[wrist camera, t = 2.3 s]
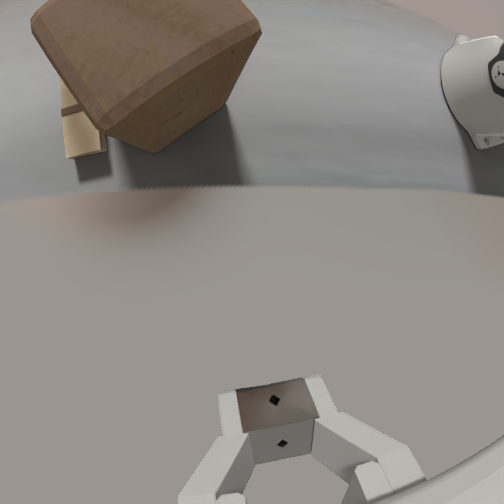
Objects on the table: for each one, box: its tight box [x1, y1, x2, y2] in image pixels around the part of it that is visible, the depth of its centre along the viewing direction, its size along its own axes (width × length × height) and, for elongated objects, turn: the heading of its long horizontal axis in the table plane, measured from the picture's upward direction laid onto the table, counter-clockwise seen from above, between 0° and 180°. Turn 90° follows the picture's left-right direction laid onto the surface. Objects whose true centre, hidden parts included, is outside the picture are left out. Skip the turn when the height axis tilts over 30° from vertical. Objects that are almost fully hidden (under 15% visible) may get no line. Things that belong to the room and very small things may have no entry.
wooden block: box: [30, 0, 262, 153], centre depth 21 cm, size 10×10×20 cm
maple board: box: [60, 77, 107, 159], centre depth 27 cm, size 4×21×3 cm, turn 8°
